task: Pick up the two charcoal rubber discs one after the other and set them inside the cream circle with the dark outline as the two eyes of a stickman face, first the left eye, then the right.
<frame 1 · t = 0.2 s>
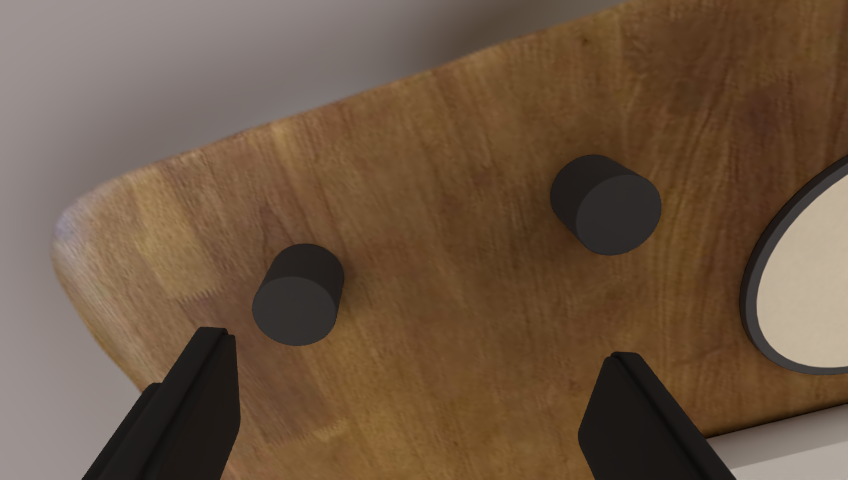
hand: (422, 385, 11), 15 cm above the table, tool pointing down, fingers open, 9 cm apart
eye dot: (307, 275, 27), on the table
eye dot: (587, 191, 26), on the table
tube: (811, 418, 35), on the table
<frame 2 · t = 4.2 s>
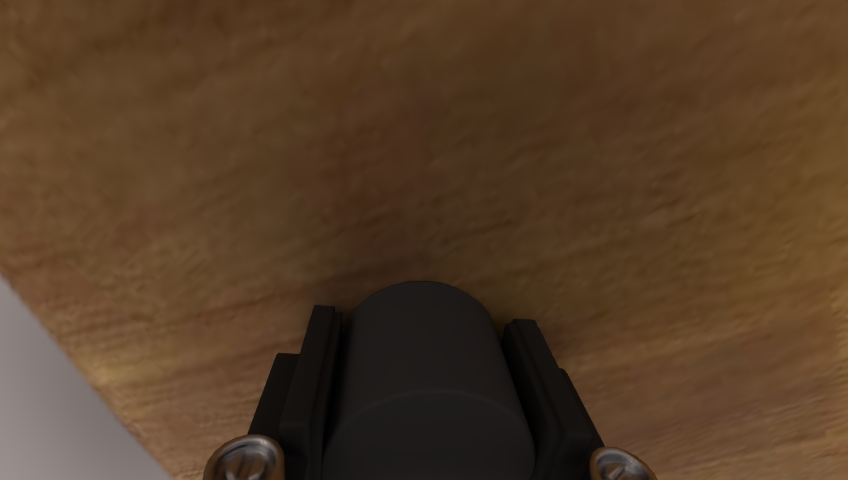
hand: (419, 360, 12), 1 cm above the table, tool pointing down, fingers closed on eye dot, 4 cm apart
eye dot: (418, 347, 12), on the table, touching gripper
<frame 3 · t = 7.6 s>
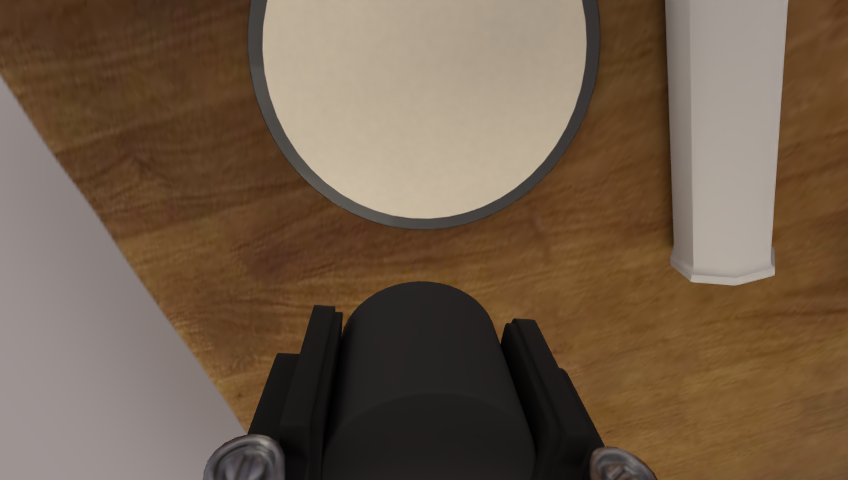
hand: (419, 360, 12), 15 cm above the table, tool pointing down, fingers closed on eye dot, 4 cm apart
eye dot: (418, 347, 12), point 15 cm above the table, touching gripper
tube: (689, 40, 24), on the table
face circle: (427, 68, 23), on the table
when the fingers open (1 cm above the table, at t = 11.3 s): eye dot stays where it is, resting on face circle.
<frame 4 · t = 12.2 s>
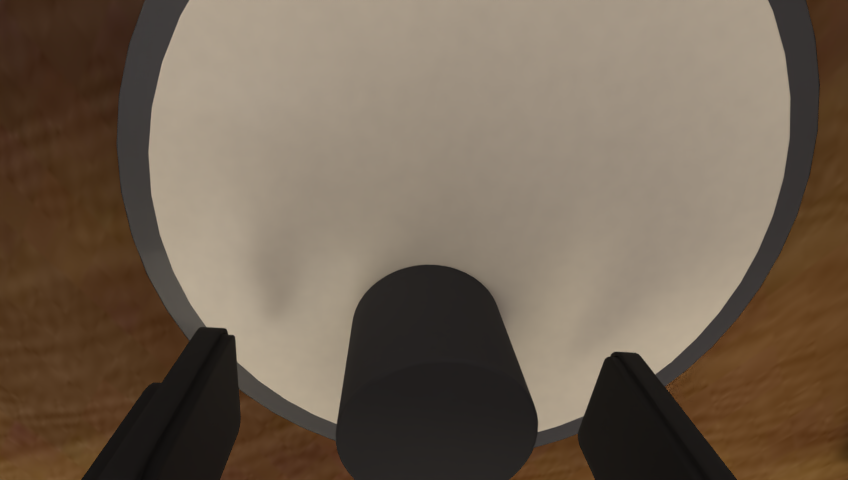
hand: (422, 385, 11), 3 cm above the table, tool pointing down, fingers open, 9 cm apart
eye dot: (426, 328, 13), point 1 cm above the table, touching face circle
face circle: (473, 216, 12), on the table
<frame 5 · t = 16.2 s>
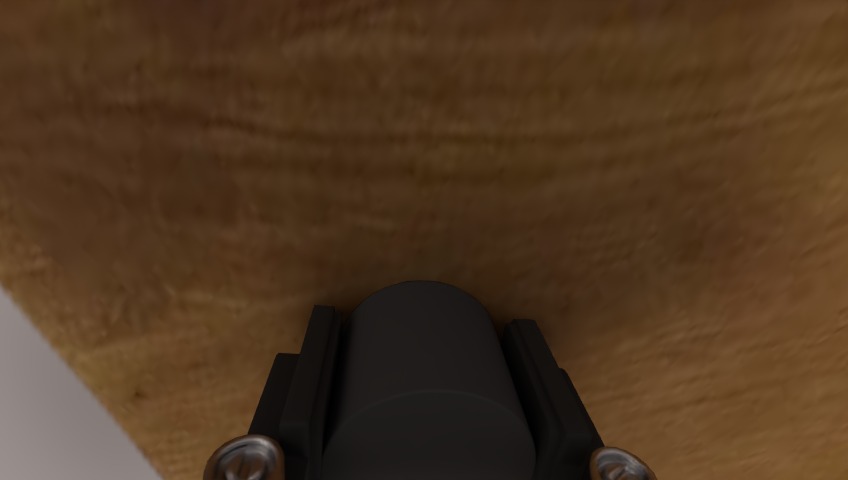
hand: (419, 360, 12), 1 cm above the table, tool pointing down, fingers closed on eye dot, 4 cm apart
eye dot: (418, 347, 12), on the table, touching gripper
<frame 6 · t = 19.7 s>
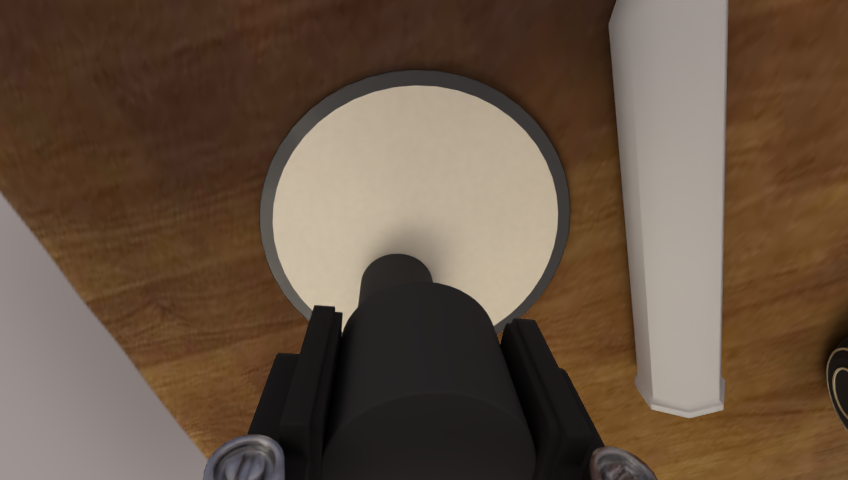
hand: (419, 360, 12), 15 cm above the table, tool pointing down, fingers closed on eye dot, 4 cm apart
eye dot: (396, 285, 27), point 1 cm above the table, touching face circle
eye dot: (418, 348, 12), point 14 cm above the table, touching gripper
tube: (647, 204, 27), on the table
face circle: (417, 230, 26), on the table
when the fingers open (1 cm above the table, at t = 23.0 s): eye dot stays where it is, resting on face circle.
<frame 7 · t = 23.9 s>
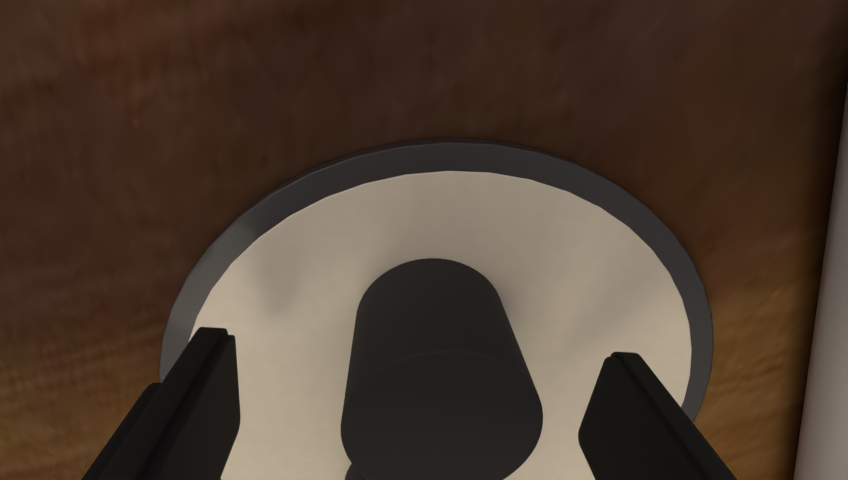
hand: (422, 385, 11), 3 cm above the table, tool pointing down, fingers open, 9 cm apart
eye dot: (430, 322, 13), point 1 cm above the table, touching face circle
tube: (833, 352, 16), on the table
face circle: (442, 398, 15), on the table
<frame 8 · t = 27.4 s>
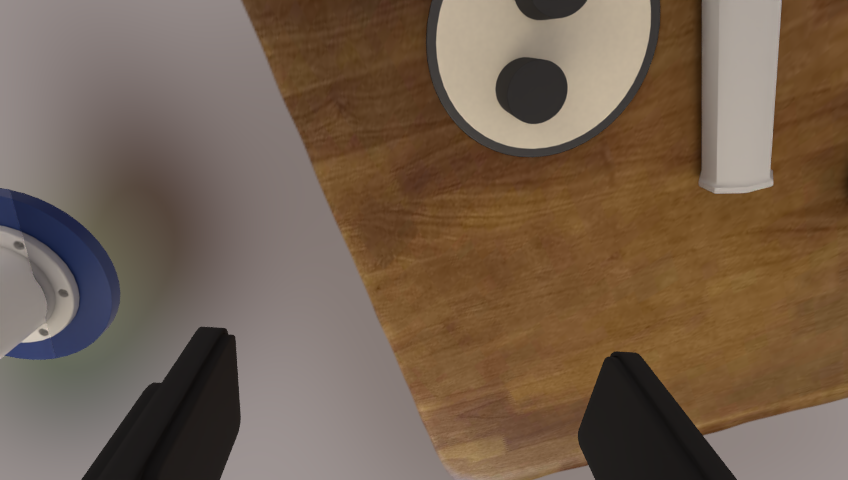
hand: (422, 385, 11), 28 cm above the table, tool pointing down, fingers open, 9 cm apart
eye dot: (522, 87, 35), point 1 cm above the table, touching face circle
tube: (715, 24, 35), on the table
face circle: (541, 41, 34), on the table
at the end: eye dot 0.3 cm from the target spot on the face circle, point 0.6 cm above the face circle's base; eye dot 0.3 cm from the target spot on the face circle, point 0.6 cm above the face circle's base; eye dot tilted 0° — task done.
